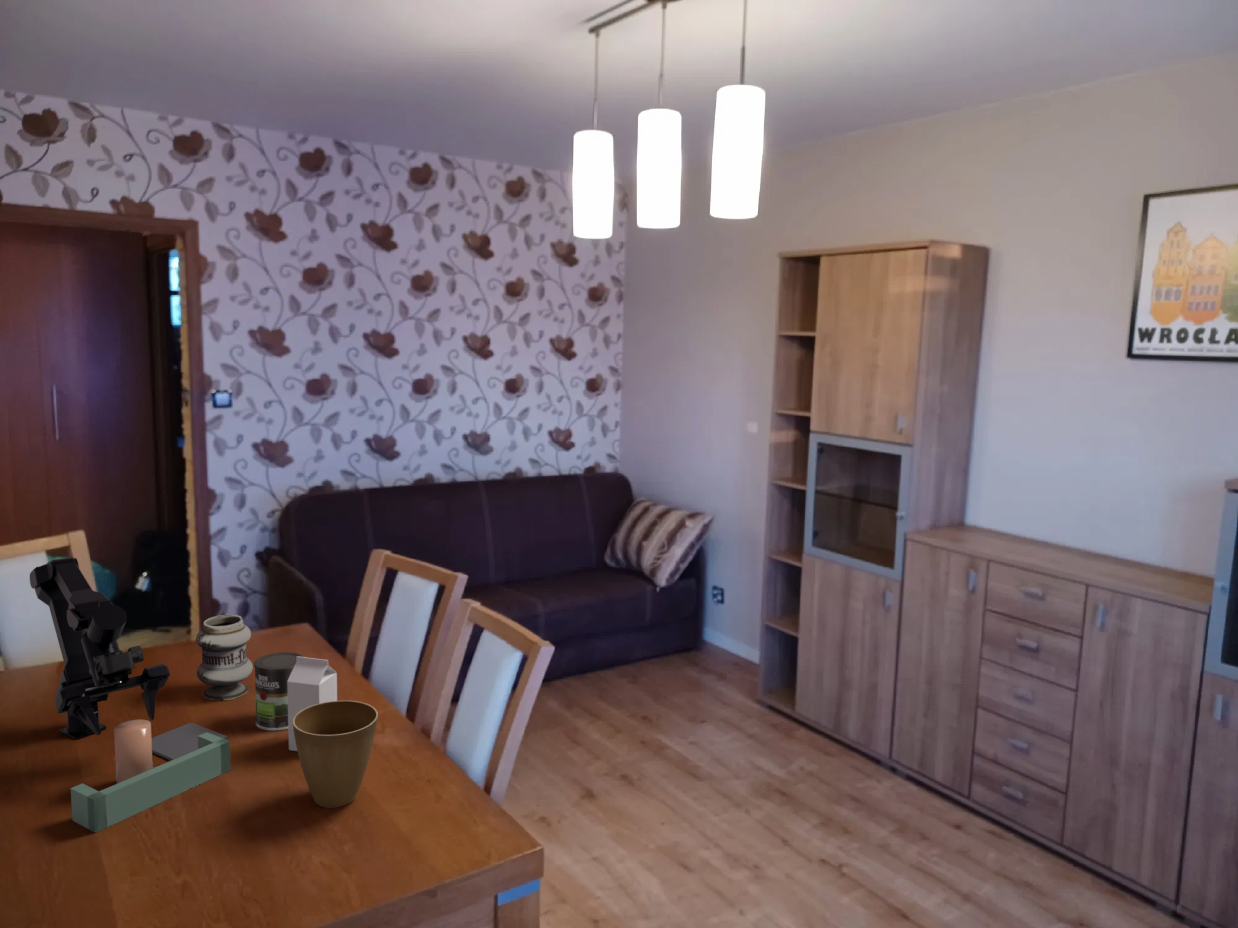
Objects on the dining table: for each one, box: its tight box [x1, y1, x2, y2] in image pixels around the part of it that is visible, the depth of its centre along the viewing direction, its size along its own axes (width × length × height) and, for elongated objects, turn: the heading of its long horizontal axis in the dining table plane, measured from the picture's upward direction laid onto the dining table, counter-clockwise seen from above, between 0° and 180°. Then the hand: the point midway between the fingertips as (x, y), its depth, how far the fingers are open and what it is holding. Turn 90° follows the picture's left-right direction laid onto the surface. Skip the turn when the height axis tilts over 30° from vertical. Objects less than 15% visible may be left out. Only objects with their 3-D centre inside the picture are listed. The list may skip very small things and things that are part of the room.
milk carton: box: [287, 656, 338, 752], centre depth 179 cm, size 7×7×19 cm
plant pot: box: [293, 700, 379, 809], centre depth 159 cm, size 15×15×16 cm
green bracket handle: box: [70, 732, 231, 834], centre depth 159 cm, size 7×26×6 cm, turn 150°
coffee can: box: [253, 651, 305, 732], centre depth 190 cm, size 10×10×14 cm
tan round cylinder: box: [113, 719, 154, 784], centre depth 162 cm, size 6×6×12 cm
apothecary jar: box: [195, 614, 254, 702], centre depth 204 cm, size 12×12×18 cm
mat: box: [151, 722, 228, 761], centre depth 180 cm, size 12×12×1 cm
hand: (126, 726), depth 164 cm, fingers open, 9 cm apart
